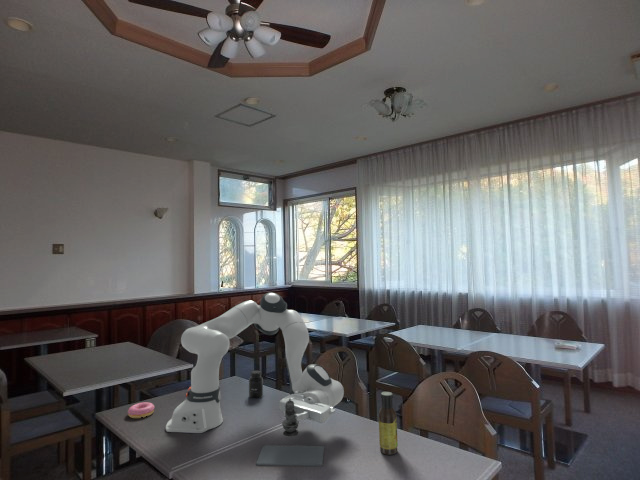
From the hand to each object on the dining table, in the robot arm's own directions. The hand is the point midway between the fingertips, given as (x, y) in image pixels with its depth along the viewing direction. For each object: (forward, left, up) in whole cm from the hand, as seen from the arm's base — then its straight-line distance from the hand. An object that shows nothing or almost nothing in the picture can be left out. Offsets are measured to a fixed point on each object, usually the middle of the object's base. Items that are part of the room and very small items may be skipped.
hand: (290, 416), depth 135 cm
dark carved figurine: (0, 0, -6) cm, 6 cm away
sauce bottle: (+34, 0, -14) cm, 37 cm away
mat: (0, 0, -14) cm, 14 cm away
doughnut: (-67, +43, -14) cm, 81 cm away
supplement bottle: (-18, +58, -14) cm, 63 cm away
